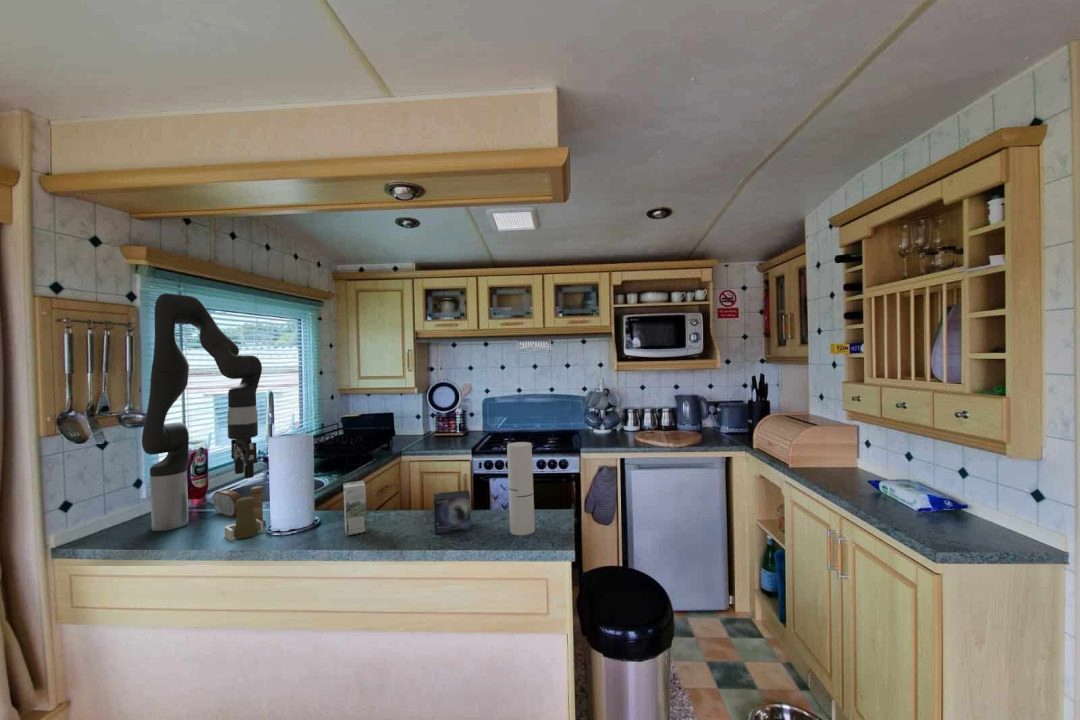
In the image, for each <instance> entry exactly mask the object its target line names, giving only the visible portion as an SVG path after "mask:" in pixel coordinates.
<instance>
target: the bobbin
mask: <svg viewBox="0 0 1080 720" xmlns="http://www.w3.org/2000/svg"><path fill="white" fill-rule="evenodd" d="M264 488H265V487H264V486H262V485H259V486H258V485H257V486H253V487H251V488H249V489H250V491H249V492H250V493H252V497H253V498H254V499H255V506H254V513H255V518H256V519H258V520H260V521H262V522H263V525H264V526H265V524H266V525H267V521H266V519H265V520H264V509H263V508H264V507H263V505H264V504H263V491H264V490H265V489H264Z"/></svg>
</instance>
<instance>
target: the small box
mask: <svg viewBox="0 0 1080 720" xmlns="http://www.w3.org/2000/svg"><path fill="white" fill-rule="evenodd" d="M470 495H471V494H470V491H469V490H468V489H467V490H458V491H446V492H435V493H433V511H434V512H433V516H434V520H433V521H434V535H445V534H453V533H461V532H464V533H465V532H471V531H472V519H471V496H470Z"/></svg>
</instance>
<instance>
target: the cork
mask: <svg viewBox="0 0 1080 720" xmlns="http://www.w3.org/2000/svg"><path fill="white" fill-rule="evenodd" d="M254 506H255V499H254V498H253V496H243V497H241V498H240V499H238V500H237V501H236V502H235V508H236V509H237V516H236V520H235V524H236V527H235V536H234V538H240V539H246V538H247V539H248V538H250V537H253V536H255V535H258V534H259V533H258V528H257V523H256V518H255V513H254ZM257 533H258V534H257Z"/></svg>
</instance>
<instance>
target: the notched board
mask: <svg viewBox="0 0 1080 720" xmlns="http://www.w3.org/2000/svg"><path fill="white" fill-rule="evenodd" d="M256 523H257V528H258V533H257V534H256V535H258V534H261V533H264V526H263V522H262V521H260V520H258V519H256ZM235 527H236V523H235V524H230V525H227V526H224V538H226V539H227V540H229V541H230V542H232V541H237V540H239V539H241V538H234V536H235Z"/></svg>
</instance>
